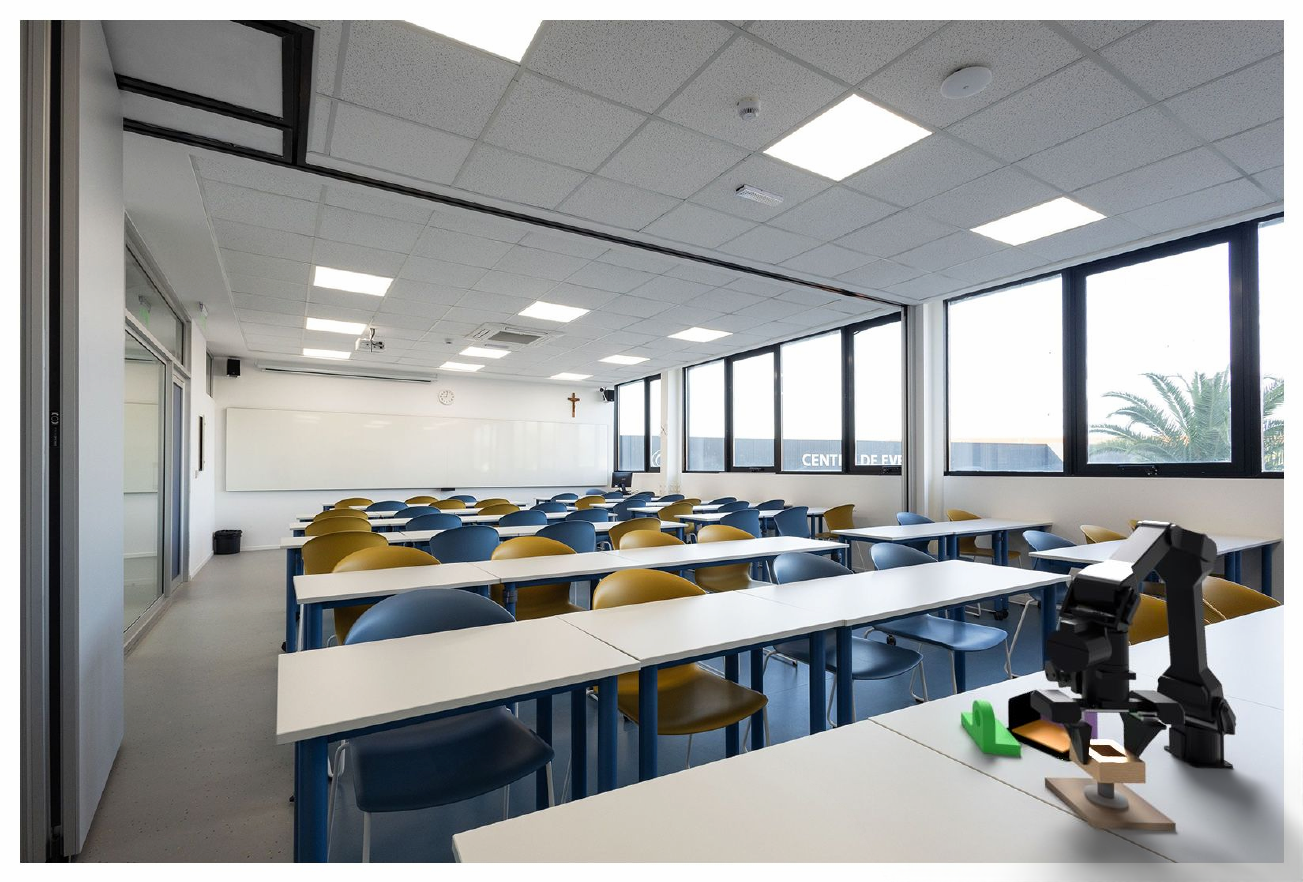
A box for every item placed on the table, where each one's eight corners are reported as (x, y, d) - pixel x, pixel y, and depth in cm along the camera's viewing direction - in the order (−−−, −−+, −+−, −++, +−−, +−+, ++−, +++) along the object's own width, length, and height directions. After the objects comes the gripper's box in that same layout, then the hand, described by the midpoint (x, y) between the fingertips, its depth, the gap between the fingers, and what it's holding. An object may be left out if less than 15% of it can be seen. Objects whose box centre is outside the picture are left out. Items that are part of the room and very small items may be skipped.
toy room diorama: (1036, 719, 116) (1036, 684, 117) (1105, 747, 106) (1105, 708, 106) (998, 733, 111) (998, 697, 111) (1067, 764, 100) (1067, 723, 100)
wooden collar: (1112, 759, 91) (1112, 739, 91) (1145, 783, 84) (1145, 762, 84) (1069, 758, 91) (1069, 739, 91) (1099, 782, 84) (1099, 761, 84)
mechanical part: (1020, 756, 103) (1020, 710, 103) (983, 753, 104) (982, 708, 104) (994, 724, 114) (994, 683, 114) (961, 722, 116) (960, 681, 116)
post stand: (1116, 787, 93) (1115, 743, 93) (1175, 834, 82) (1175, 783, 82) (1044, 786, 93) (1044, 742, 93) (1094, 832, 82) (1093, 782, 82)
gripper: (1127, 640, 95) (1128, 737, 95) (1009, 640, 96) (1010, 736, 96) (1187, 666, 84) (1188, 776, 84) (1053, 666, 85) (1054, 774, 85)
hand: (1105, 763), depth 88 cm, fingers closed on wooden collar, 6 cm apart
